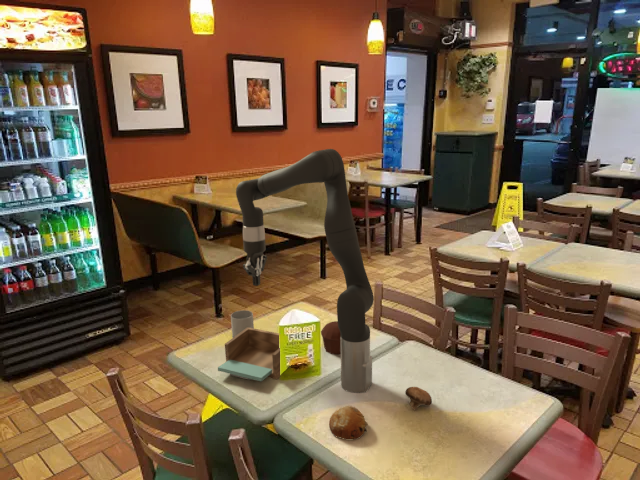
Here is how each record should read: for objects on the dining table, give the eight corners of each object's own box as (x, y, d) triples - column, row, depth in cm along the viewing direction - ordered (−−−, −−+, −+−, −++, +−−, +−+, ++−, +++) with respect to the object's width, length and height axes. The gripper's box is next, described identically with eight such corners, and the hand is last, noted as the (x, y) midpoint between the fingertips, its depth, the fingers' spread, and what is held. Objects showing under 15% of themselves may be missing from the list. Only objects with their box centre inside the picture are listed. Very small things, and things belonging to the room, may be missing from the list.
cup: (252, 343, 181) (250, 319, 178) (230, 343, 181) (229, 319, 179) (255, 333, 189) (254, 310, 186) (235, 333, 189) (233, 310, 187)
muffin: (315, 345, 178) (315, 321, 175) (341, 338, 183) (340, 314, 180) (331, 359, 168) (330, 333, 165) (357, 351, 173) (357, 326, 170)
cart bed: (296, 359, 168) (295, 336, 166) (276, 379, 156) (275, 354, 153) (248, 349, 176) (247, 327, 174) (226, 367, 164) (224, 343, 162)
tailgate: (272, 369, 156) (261, 377, 149) (272, 375, 156) (261, 384, 150) (229, 359, 162) (217, 367, 156) (230, 365, 163) (217, 373, 157)
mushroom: (407, 407, 134) (415, 385, 136) (396, 401, 142) (404, 381, 143) (431, 417, 136) (439, 396, 137) (419, 411, 143) (426, 391, 145)
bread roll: (349, 426, 137) (340, 400, 138) (377, 426, 131) (366, 398, 131) (328, 445, 130) (318, 417, 130) (356, 445, 123) (345, 416, 123)
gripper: (253, 243, 155) (256, 293, 160) (272, 234, 167) (275, 280, 172) (234, 241, 158) (237, 290, 163) (254, 232, 170) (257, 277, 174)
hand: (256, 285), depth 167 cm, fingers closed
